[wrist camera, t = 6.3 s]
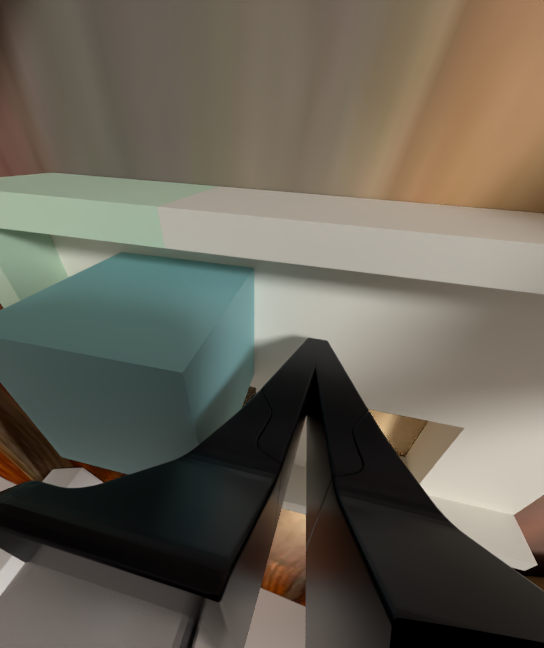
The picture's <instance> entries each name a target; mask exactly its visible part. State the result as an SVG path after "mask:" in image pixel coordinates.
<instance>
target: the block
mask: <svg viewBox="0 0 544 648" xmlns="http://www.w3.org/2000/svg"><path fill="white" fill-rule="evenodd" d="M253 376H254V268H251V267H243V266H235V265H226V264H218V263H210V262H201V261H193V260H185V259H176V258H168V257H160V256H151V255H143V254H135V253H126V252H120V253H118V254H116V255H114V256H112V257H110V258H108V259H106V260H104V261H102V262H99V263H97V264H95V265H93V266H91V267H89V268H87V269H85V270H83V271H81V272H79V273H77V274H75V275H73V276H70V277H68V278H66V279H64V280H62V281H60V282H58V283H56V284H54V285H52V286H50V287H48V288H46V289H43V290H41V291H39V292H37V293H35V294H33V295H31V296H29V297H27V298H25V299H23V300H21V301H19V302H16V303H14V304H12V305H10V306H8V307H6V308H4V309H2V310H0V382H1V383H2V385H3V386H4V387H5V388H6V390H7V391H8V392H9V393H10V395H11V396H12V397H13V398H14V399H15V401H16V402H17V403H18V404H19V406H20V407H21V408H22V409H23V410H24V412H25V413H26V414H27V415H28V417H29V418H30V419H31V420H32V422H33V423H34V424H35V425H36V426H37V428H38V429H39V430H40V431H41V433H42V434H43V435H44V436H45V437H46V439H47V440H48V441H49V442H50V444H51V445H52V446H53V447H54V449H55V450H56V451H57V452H58V453H59V455H60V456H61V457H63V458H67V459H71V460H74V461H78V462H82V463H86V464H90V465H94V466H98V467H102V468H105V469H109V470H113V471H117V472H121V473H125V474H132V473H135V472H139V471H142V470H145V469H148V468H151V467H154V466H157V465H160V464H163V463H166V462H169V461H172V460H175V459H177V458H179V457H181V456H183V455H185V454H187V453H188V452H190V451H191V450H193V449H194V448H195V447H196V446H198V445H199V444H200V443H201V442H203V441H204V440H205V439H206V438H207V437H209V436H210V435H211V434H212V433H213V432H215V431H216V430H217V429H218V428H219V427H221V426H222V425H223V424H224V423H225V422H227V421H228V420H229V419H230V418H231V417H232V416H234V415H235V414H236V413H237V412H238V411H239V410H240V409H242V406H243V403H244V400H245V398H246V395H247V392H248V389H249V387H250V384H251V381H252V378H253Z"/></svg>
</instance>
